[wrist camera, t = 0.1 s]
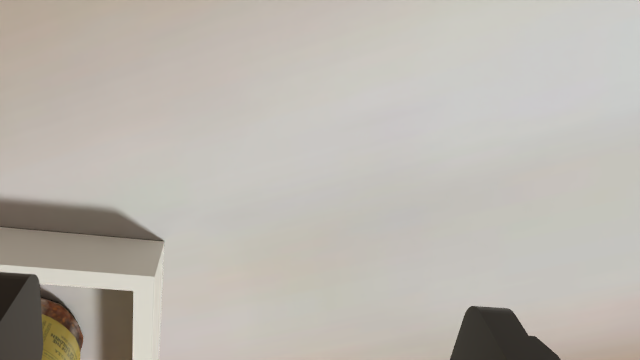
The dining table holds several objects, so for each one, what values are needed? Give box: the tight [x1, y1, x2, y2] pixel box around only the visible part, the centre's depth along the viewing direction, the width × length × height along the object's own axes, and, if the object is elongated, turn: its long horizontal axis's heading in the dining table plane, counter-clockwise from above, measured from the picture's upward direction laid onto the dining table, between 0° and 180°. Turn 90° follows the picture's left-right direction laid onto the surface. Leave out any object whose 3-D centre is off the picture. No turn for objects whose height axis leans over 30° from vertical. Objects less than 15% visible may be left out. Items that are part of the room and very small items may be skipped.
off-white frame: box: [0, 227, 164, 360], centre depth 31 cm, size 14×14×3 cm
